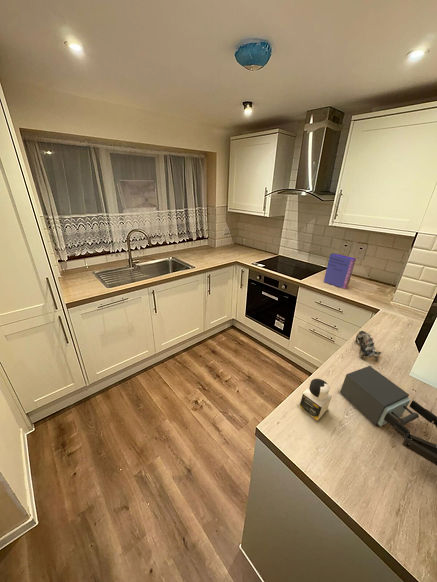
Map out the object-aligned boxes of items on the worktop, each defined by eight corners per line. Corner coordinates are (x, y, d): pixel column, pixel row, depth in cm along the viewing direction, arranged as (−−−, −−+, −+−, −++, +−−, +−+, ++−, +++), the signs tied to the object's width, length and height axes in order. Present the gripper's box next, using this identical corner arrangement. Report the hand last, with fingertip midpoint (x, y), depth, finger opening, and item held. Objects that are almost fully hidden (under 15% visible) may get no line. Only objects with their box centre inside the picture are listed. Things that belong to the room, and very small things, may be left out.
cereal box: (347, 287, 184) (356, 258, 174) (345, 289, 181) (353, 259, 171) (325, 280, 196) (332, 252, 185) (323, 282, 193) (330, 253, 182)
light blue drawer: (415, 426, 78) (425, 410, 75) (393, 438, 74) (402, 422, 71) (367, 386, 93) (373, 371, 90) (346, 395, 89) (352, 379, 86)
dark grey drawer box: (398, 413, 83) (409, 394, 79) (374, 425, 79) (384, 406, 75) (362, 383, 95) (369, 365, 91) (339, 392, 91) (346, 374, 87)
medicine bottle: (298, 406, 85) (305, 382, 79) (309, 396, 89) (316, 372, 84) (317, 421, 80) (325, 396, 74) (327, 409, 84) (335, 385, 79)
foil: (348, 349, 110) (360, 323, 115) (347, 358, 118) (359, 334, 123) (376, 360, 103) (388, 333, 108) (374, 369, 110) (385, 343, 115)
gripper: (451, 510, 56) (369, 429, 74) (501, 468, 65) (417, 405, 83) (467, 493, 53) (377, 413, 71) (516, 451, 62) (425, 390, 80)
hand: (398, 409), depth 77 cm, fingers open, 12 cm apart
